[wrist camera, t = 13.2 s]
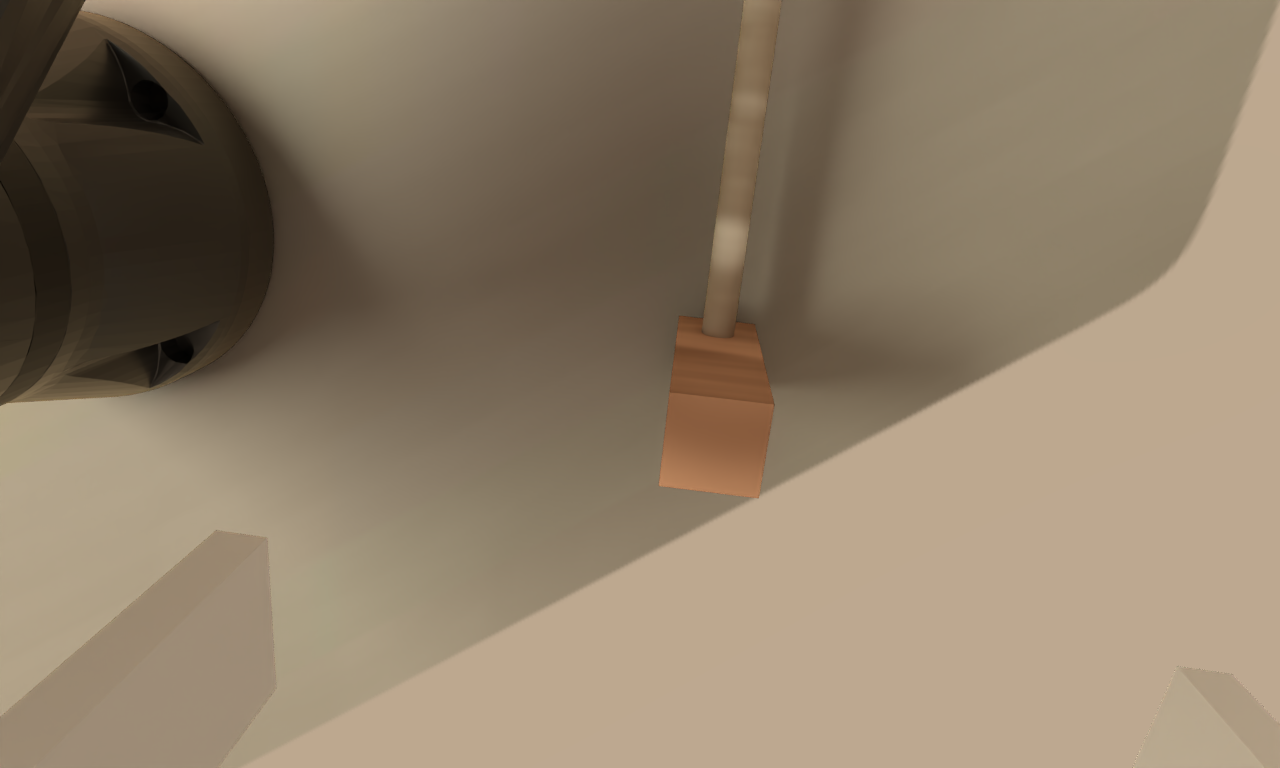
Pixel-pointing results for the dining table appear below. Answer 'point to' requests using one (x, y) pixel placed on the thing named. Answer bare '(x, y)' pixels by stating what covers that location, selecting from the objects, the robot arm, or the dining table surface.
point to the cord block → (727, 307)
